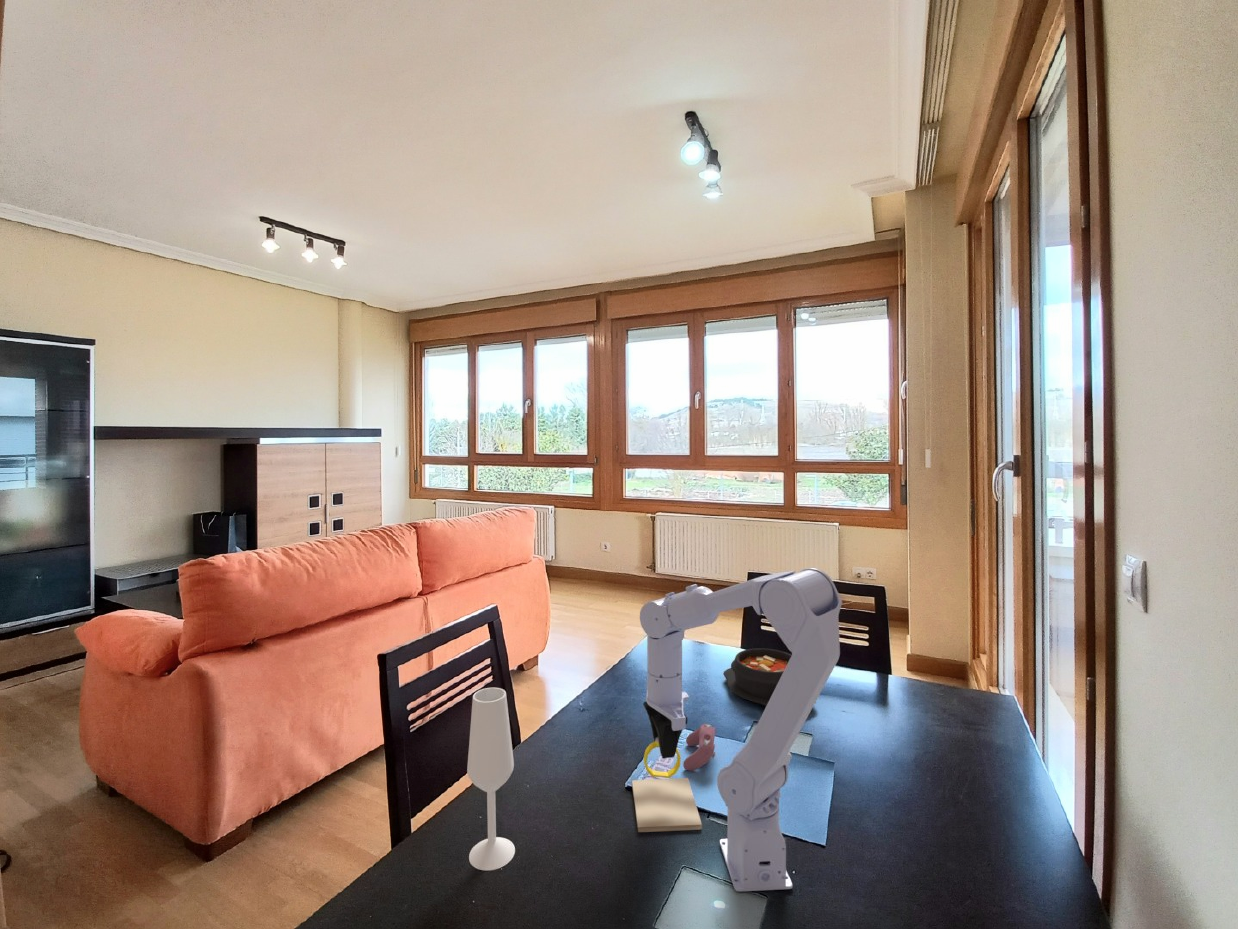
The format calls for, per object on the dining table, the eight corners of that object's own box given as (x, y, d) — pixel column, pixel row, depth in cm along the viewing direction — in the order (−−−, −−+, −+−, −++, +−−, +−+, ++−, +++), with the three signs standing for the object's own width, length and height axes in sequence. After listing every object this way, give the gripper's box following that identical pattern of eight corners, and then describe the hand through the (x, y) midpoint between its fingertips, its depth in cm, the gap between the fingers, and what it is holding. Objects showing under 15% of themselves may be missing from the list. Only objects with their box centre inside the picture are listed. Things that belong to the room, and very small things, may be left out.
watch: (644, 780, 92) (645, 744, 92) (642, 771, 94) (643, 736, 94) (680, 780, 92) (682, 744, 92) (677, 771, 95) (679, 736, 95)
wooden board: (701, 829, 88) (701, 824, 88) (638, 832, 88) (638, 827, 87) (688, 782, 100) (688, 778, 100) (632, 784, 99) (632, 780, 99)
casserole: (835, 710, 126) (836, 673, 126) (767, 726, 119) (768, 688, 119) (766, 667, 149) (766, 636, 149) (705, 679, 142) (706, 647, 142)
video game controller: (703, 782, 103) (720, 750, 102) (680, 769, 103) (698, 737, 102) (704, 752, 112) (720, 723, 111) (684, 740, 113) (700, 711, 112)
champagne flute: (524, 853, 83) (521, 695, 82) (483, 878, 79) (480, 710, 77) (499, 830, 88) (497, 680, 87) (460, 852, 83) (457, 694, 82)
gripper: (704, 687, 86) (704, 772, 87) (673, 652, 101) (673, 726, 101) (660, 692, 85) (660, 779, 86) (635, 656, 99) (635, 731, 100)
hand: (664, 751), depth 93 cm, fingers closed on watch, 3 cm apart
